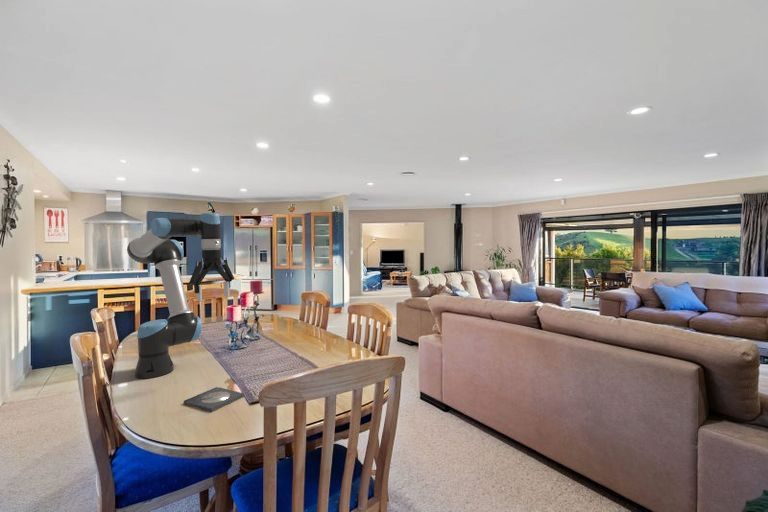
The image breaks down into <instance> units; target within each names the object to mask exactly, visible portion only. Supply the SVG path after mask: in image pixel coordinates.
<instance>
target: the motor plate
mask: <svg viewBox="0 0 768 512" xmlns="http://www.w3.org/2000/svg"><path fill="white" fill-rule="evenodd" d="M244 397H245V393H243V392H240V391H236V390H232V389H228V388H224V387H218V386H216V387H214V388H211V389H209V390H206V391H204V392H201V393H200V394H196V395H194V396H192V397H190V398H187V399H185V400H183V404H184V405H187V406H190V407H193V408H196V409H200V410H204V411H208V412H211V413H212V412H216V411H217V410H220V409H222V408H223V407H225V406H228V405H230V404H232V403H234V402H236V401H238V400H241V399H242V398H244Z"/></svg>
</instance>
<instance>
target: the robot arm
mask: <svg viewBox="0 0 768 512" xmlns="http://www.w3.org/2000/svg"><path fill="white" fill-rule="evenodd" d="M172 237H200V239H201V242H200V243H201V249H202V251H201V258H202V260H201V261H200V260H199V261H195V267H194V269H193V272H192V274H191V277H190V279H189V282H188V284H189V285H192V286H193V290H194V294H195V300H196V301H197V302H203V291H202V290H203V289H202V288H203V287H202V285H201V283H202V282H203V280H204V279H205V278H206V276H207V274H208V273H209V272H214V271H215V272H217V273H218V274H219V275H220V276H221V278H222V279H223V280H224V281H223V297H230V293H231V292H230V289H231V282H232V281H233V280H234V279H235V277H234V275H233V272H232V270H231V269H230V267H229V262H228V260H227V259H221V258H222V250H221V248H222V245H221V244H222V241H221V219H220V214H219V213H216V212H215V213H214V212H202V213H201V214H200V217H199V218H177V217H175V218H174V217H173V218H172V217H171V218H170V217H155V218H153V219H152V220H151V223H150V229H148V231H146V232H145V233H144V234H142V235H141V236H139V237H136V238H134V239H132V240H131V241H130V242H129V243H128V245H127V248H126V252H127V254H128V256H129V257H130V259H132V260H133V261H134V262H137V263H140V264H154V268H155V269H157V270H159V274H160V278H161V283H162V287H163V290H164V291H163V292H164V295H165V300H166V302H167V307H168V311H169V316H168V318H166V319H165V318H164V319H163V318H160V319H154V320H149V321H146V322H143V323H142V324H140V325H139V326H138V327H137V334H136V338H137V349H138V351H137V352H138V361H137V363H136V366H135V370H134V377H135V378H137V379H153V378H159V377H161V376H165V375H168V374H170V373H172V372H173V371H174V369H175V368H174V367H175V366H174V365H175V364H174V362H173V360H172V358H171V355H170V353H169V352H170V351H169V348H170V347H174V346H178V345H182V344H187V343H191V342H194V341H197V340H199V339H200V337H201V336H202V332H203V323H202V319H201V318H200V317H199V316H197V315H195V312H194V311H192V310H190V306H189V301H188V298H187V295H186V290H185V287H184V286H185V285H184V283H183V279H182V278H183V277H182V273H181V271H180V265H181V263H182V261H183V259H184V257H185V256H184V248H183V246H182V244H181V243H180V242H179V241H178V240H176V239H171V238H172Z"/></svg>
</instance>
